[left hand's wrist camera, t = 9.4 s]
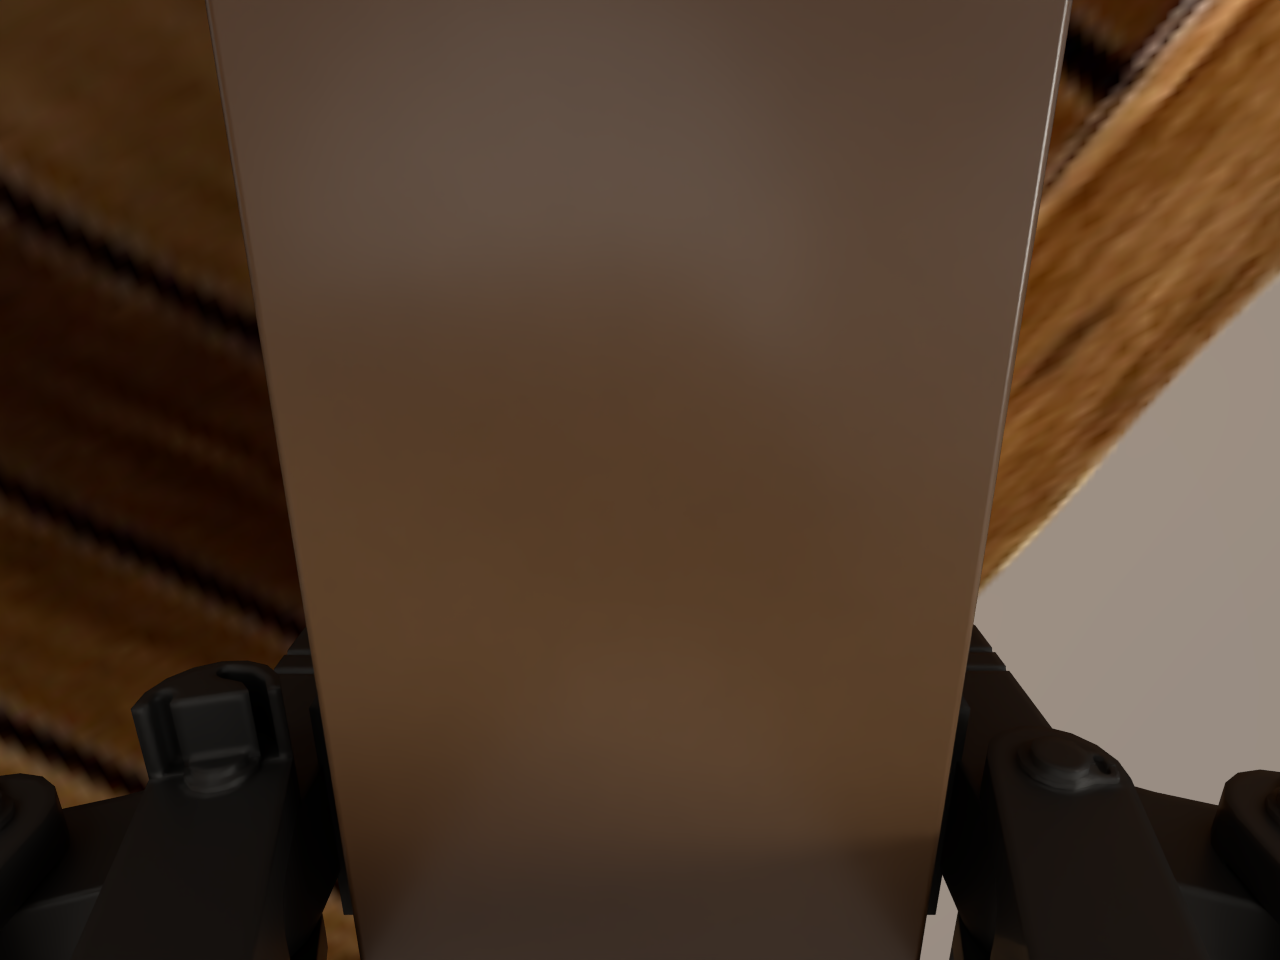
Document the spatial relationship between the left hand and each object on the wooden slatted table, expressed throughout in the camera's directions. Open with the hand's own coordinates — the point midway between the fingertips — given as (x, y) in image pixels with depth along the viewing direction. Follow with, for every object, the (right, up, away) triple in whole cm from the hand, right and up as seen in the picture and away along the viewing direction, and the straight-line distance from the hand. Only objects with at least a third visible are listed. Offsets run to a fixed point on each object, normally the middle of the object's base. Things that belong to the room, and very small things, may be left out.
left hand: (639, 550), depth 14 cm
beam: (0, +19, -6) cm, 20 cm away
